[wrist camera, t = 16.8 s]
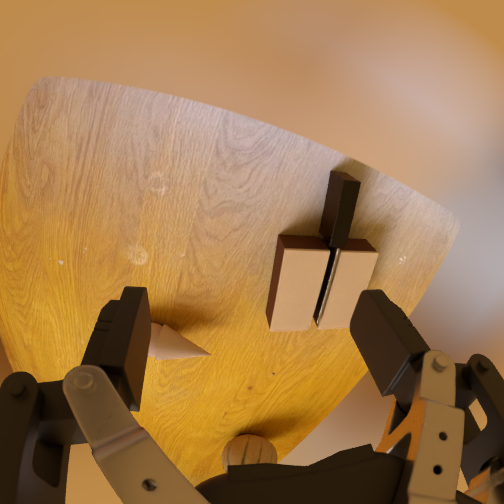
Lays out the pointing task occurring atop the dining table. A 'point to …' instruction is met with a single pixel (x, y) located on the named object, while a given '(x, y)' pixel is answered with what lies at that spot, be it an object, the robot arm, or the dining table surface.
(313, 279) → the slotted tan block
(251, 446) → the cantaloupe
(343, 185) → the knife
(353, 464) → the robot arm
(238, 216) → the dining table surface
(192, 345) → the ice cream cone
